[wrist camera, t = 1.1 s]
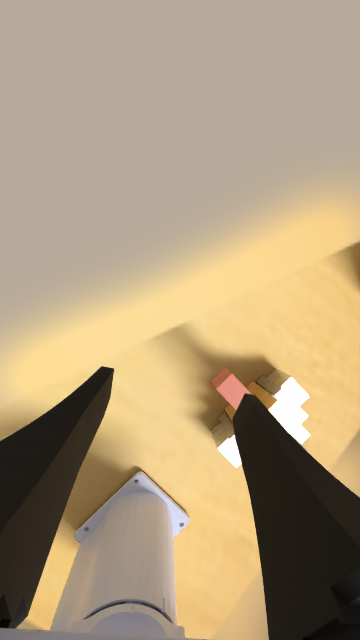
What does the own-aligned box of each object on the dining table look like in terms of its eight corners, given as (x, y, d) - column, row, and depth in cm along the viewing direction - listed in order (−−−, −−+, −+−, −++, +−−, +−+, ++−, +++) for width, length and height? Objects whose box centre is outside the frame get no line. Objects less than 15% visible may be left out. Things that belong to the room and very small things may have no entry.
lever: (299, 442, 17) (313, 456, 16) (281, 459, 17) (294, 475, 16) (227, 365, 16) (234, 371, 15) (208, 383, 16) (214, 391, 15)
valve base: (232, 453, 23) (254, 499, 18) (205, 426, 23) (219, 464, 17) (296, 391, 23) (338, 416, 18) (271, 363, 23) (306, 380, 17)
